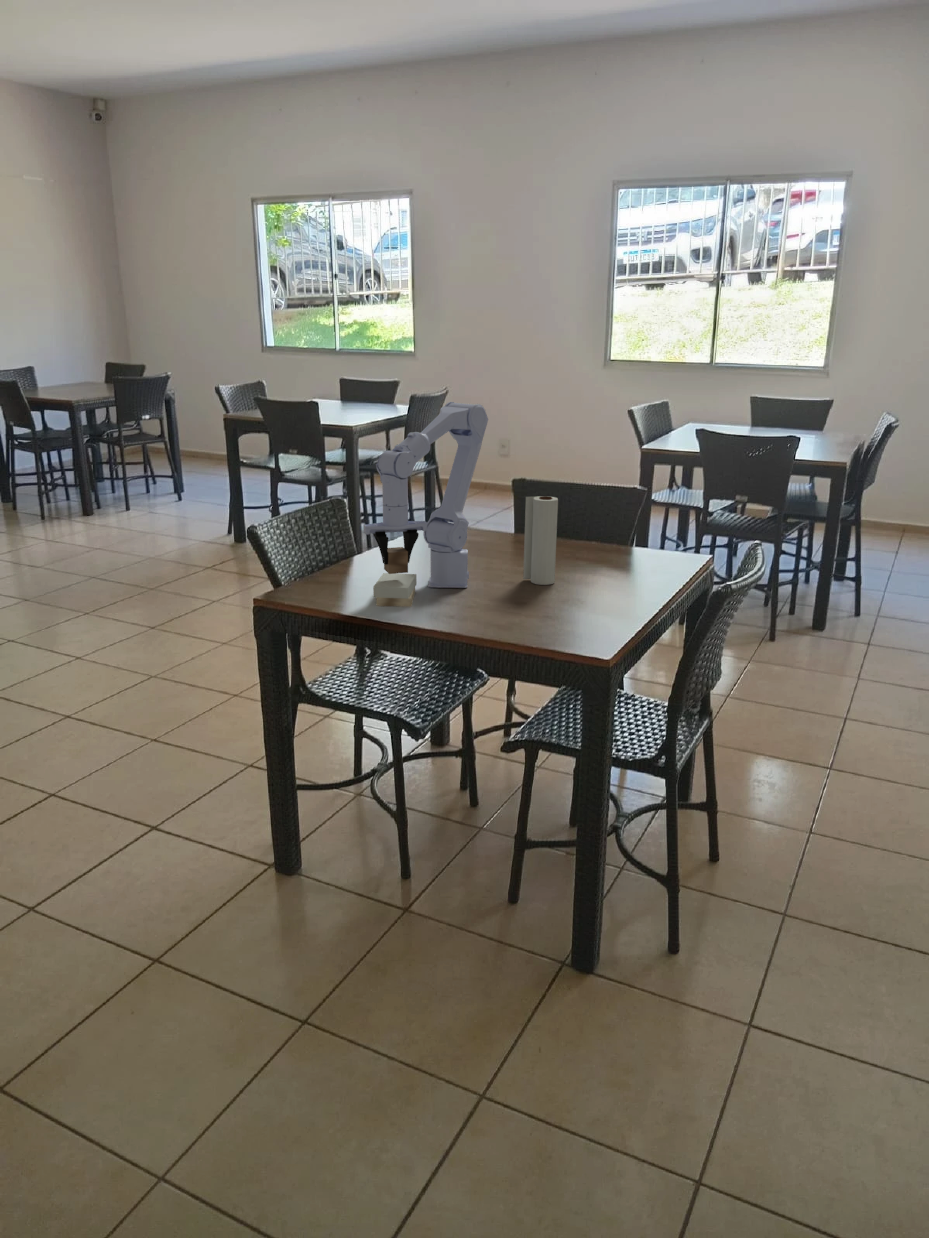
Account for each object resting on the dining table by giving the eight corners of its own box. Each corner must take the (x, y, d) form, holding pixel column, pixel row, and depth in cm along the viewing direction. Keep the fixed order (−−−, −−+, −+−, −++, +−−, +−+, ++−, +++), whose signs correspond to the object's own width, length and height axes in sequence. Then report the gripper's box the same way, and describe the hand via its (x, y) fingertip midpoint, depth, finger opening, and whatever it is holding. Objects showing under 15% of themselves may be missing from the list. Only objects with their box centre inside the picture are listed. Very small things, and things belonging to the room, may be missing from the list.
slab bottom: (415, 594, 222) (415, 584, 221) (411, 609, 210) (411, 598, 209) (382, 593, 222) (381, 583, 221) (376, 608, 210) (376, 597, 209)
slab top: (416, 584, 220) (416, 574, 220) (408, 598, 209) (408, 588, 208) (383, 583, 221) (383, 573, 221) (373, 597, 210) (373, 586, 209)
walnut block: (402, 567, 216) (402, 547, 215) (408, 572, 212) (407, 551, 211) (384, 569, 215) (383, 548, 213) (389, 573, 211) (388, 552, 209)
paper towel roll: (559, 583, 229) (563, 498, 223) (539, 586, 226) (542, 500, 220) (542, 576, 235) (545, 493, 229) (523, 580, 232) (525, 495, 226)
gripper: (420, 499, 215) (421, 556, 219) (360, 503, 210) (361, 560, 214) (429, 505, 208) (429, 563, 213) (367, 508, 204) (368, 568, 208)
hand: (396, 562), depth 213 cm, fingers closed on walnut block, 4 cm apart
